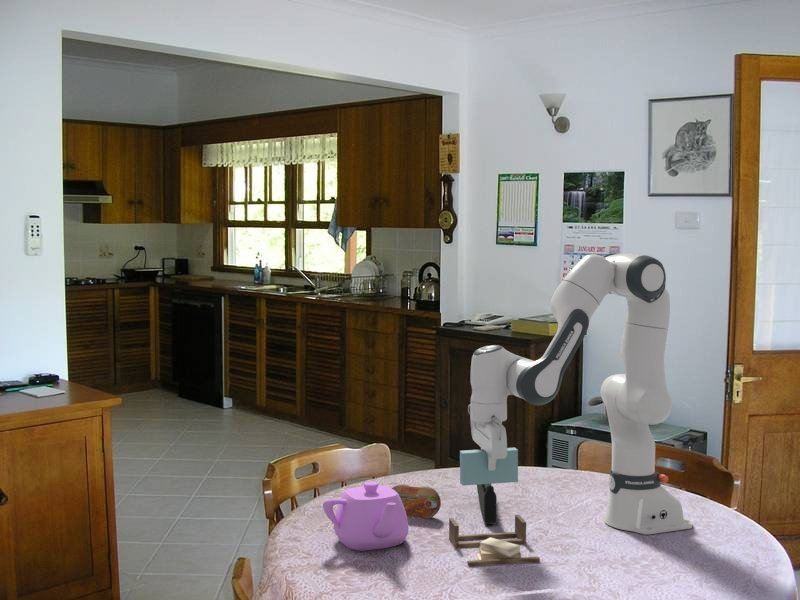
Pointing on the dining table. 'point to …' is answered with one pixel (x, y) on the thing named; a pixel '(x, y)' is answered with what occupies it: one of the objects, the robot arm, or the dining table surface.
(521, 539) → the rack
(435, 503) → the tin
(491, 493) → the magazine
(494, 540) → the offcut top
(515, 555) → the offcut middle
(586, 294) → the robot arm
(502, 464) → the board
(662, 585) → the dining table surface
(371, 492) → the teapot
